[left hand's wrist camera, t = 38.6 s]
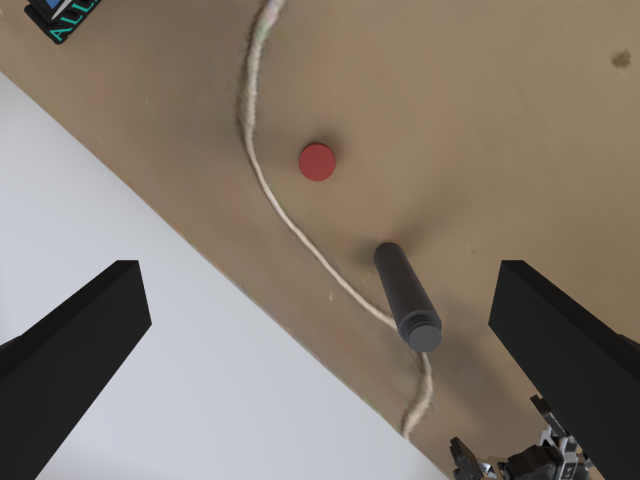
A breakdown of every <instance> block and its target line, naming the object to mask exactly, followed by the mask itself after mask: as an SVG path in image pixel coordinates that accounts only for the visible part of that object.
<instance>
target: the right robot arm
mask: <svg viewBox="0 0 640 480" xmlns="http://www.w3.org/2000/svg"><path fill="white" fill-rule="evenodd" d="M530 400H531V401H532V402H533V404H534V405H535V407H536V408H537V409H538V411H539V412H540V414H541V415H542V416H543V418H544V419H545V420H546V421H547V423H548V427H547V429H543V430H542V433H541V437H540V441H539V445H538V446H536V445H533V446H531V447H529V448H527V449H526V450H525V451H524V452H522V453H519V454H516V455H513V456H511V457H509V458H507V459H504V458H498V457H492V456H489V457H488V459H487V460H485V459H479V458H475V455H474V454H473V453H472V452H471V451H470V450H469V449H468V448H467V447H466V446H465V445H464V444H463V443H462V441H461V440H460V439H459V438H458V437H455V438H453V439H451V440H450V442H451V444H452V446H451V447H449V448H450V451H451V454H452V457H453V459H454V462H455V465H456V466H457V467H459V468H457V469H455V470H454V471H453V475H454V478H455V479H456V480H592V479H591V478H590V477H589V469H588V468H590V467H593V466H595V465H594V464H593V463H592V461H591V460H590V459H589V457H588V456H587V455H586V453H585V452H584V451H583V449H582V452H581V453H580V454H577V453H576V450H577V447H578V443H577V441H576V440H575V439H574V438H573V436H572V435H571V434H570V432H569V431H568V430H567V428H566V427H565V426H564V424H563V423H562V422H561V420H560V419H559V418H558V416H557V415H556V414H555V412H554V411H553V410H552V408H551V407H550V406H549V404H548V403H547V402H546V400H545V399H544V398H542V399H540V398H539V397H538V396H537V395H534V396H532V397H530ZM501 471H503V475H502V473H501ZM482 472H485V473H487V475H488V477H489V478H486V477H484V475H483V473H482Z"/></svg>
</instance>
